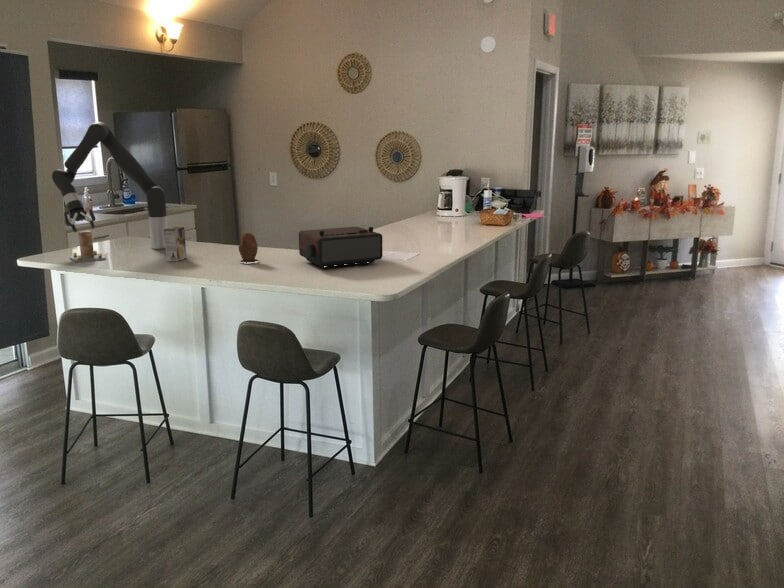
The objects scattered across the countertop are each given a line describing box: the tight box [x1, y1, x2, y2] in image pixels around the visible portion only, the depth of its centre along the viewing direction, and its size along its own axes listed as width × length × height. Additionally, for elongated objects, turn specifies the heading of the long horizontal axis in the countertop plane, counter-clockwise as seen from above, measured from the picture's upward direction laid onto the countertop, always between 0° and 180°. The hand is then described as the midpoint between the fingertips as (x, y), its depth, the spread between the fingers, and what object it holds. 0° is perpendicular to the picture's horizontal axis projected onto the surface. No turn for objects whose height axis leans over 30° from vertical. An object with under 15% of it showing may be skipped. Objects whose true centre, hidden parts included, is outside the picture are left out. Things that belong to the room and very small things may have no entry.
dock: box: [69, 250, 107, 264], centre depth 341 cm, size 14×14×3 cm
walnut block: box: [77, 230, 95, 258], centre depth 340 cm, size 5×5×13 cm
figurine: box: [238, 232, 259, 263], centre depth 331 cm, size 9×10×15 cm
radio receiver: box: [298, 226, 383, 268], centre depth 327 cm, size 35×27×18 cm
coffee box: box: [164, 226, 187, 262], centre depth 337 cm, size 9×6×16 cm
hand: (84, 230), depth 349 cm, fingers open, 8 cm apart
